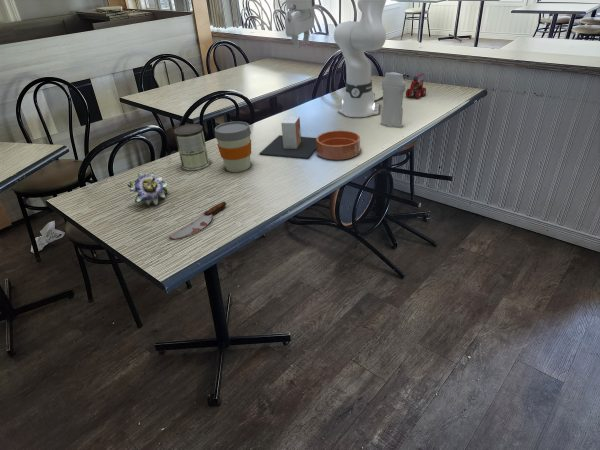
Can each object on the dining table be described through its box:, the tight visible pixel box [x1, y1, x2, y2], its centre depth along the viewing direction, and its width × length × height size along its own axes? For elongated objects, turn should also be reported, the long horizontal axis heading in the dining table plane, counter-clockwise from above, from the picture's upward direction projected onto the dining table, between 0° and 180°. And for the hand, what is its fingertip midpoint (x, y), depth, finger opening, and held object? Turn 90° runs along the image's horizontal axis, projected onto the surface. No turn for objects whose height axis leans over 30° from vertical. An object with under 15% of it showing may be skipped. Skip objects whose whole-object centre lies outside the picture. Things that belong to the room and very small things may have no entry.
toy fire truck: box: [405, 73, 427, 99], centre depth 211 cm, size 7×12×10 cm, turn 139°
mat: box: [259, 134, 317, 160], centre depth 166 cm, size 20×20×1 cm
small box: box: [280, 116, 302, 149], centre depth 163 cm, size 8×6×10 cm
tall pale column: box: [380, 71, 407, 128], centre depth 174 cm, size 11×4×22 cm, turn 51°
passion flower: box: [127, 171, 168, 206], centre depth 134 cm, size 11×11×12 cm
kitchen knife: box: [169, 201, 227, 240], centre depth 121 cm, size 21×2×5 cm
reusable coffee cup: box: [214, 121, 252, 173], centre depth 149 cm, size 13×13×15 cm
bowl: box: [315, 130, 361, 161], centre depth 158 cm, size 16×16×6 cm
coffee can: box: [173, 123, 210, 171], centre depth 154 cm, size 10×10×14 cm
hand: (301, 45), depth 155 cm, fingers open, 8 cm apart
